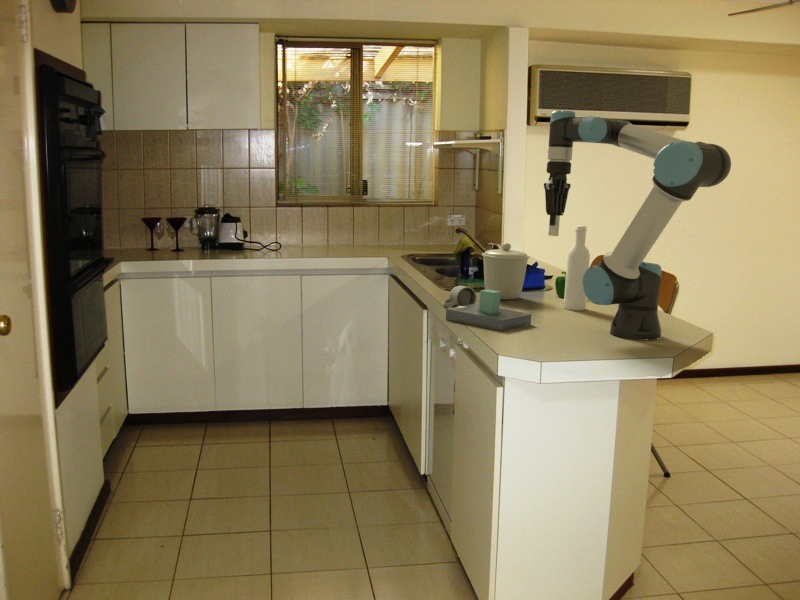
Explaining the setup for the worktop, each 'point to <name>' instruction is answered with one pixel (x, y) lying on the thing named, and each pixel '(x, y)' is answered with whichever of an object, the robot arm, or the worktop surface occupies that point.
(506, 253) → the canister
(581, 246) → the bottle
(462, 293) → the ceramic mug
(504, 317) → the socket
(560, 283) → the bell pepper
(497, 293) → the plug
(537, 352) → the worktop surface
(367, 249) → the worktop surface
